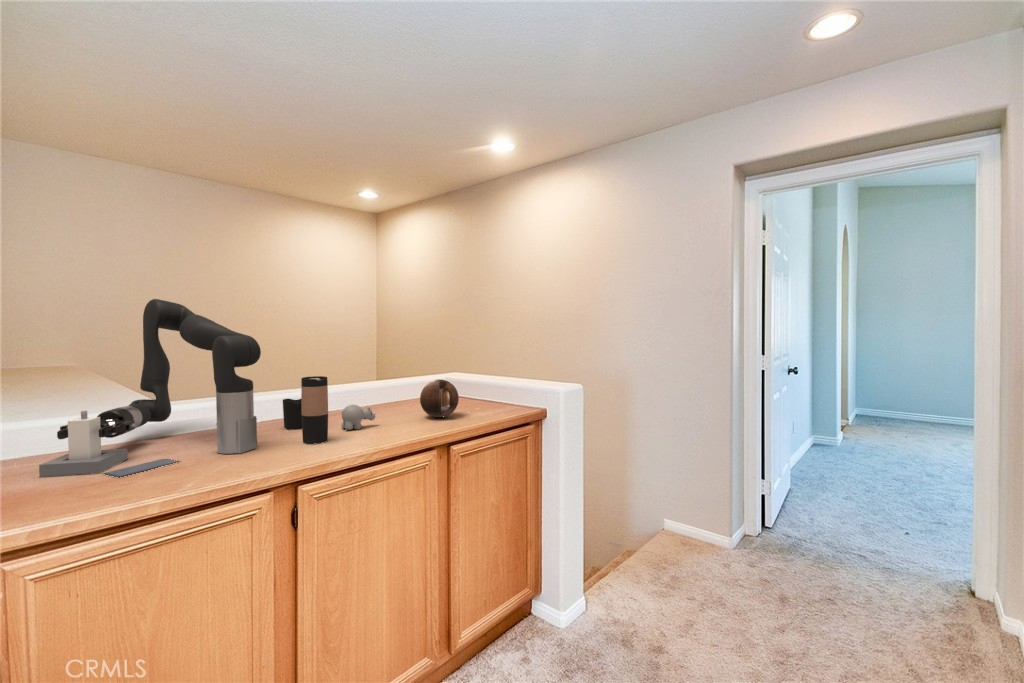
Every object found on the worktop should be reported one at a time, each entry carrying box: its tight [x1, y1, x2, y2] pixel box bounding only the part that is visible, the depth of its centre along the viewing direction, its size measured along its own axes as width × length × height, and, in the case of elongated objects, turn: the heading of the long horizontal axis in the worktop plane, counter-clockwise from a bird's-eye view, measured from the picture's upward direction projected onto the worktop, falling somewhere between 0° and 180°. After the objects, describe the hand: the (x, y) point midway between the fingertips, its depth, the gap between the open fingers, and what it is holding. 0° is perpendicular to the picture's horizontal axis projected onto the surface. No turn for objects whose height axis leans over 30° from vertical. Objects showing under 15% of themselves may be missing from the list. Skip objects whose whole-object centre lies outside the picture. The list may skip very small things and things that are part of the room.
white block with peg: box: [67, 410, 102, 460], centre depth 116 cm, size 4×4×14 cm
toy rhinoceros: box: [341, 404, 377, 431], centre depth 161 cm, size 7×12×8 cm, turn 126°
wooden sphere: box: [419, 379, 460, 418], centre depth 180 cm, size 15×15×15 cm
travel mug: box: [300, 375, 329, 445], centre depth 142 cm, size 8×8×20 cm
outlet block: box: [38, 448, 129, 478], centre depth 116 cm, size 12×12×3 cm
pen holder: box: [282, 398, 302, 430], centre depth 163 cm, size 9×9×10 cm
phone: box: [101, 458, 181, 479], centre depth 116 cm, size 7×14×1 cm, turn 157°
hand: (80, 434), depth 114 cm, fingers open, 8 cm apart
